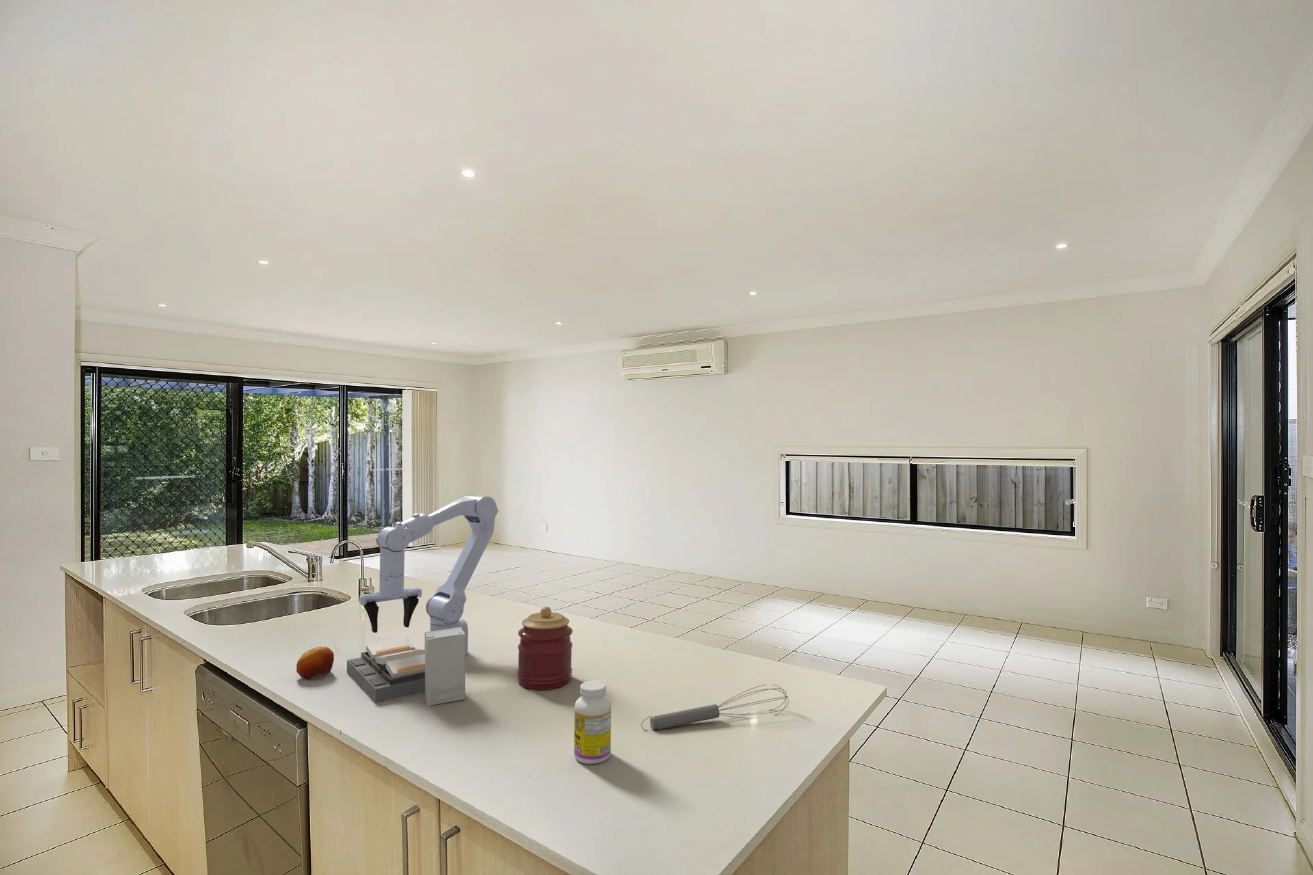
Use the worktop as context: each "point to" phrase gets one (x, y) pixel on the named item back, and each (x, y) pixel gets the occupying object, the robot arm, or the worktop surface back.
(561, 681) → the canister
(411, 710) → the worktop surface
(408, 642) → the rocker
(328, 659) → the fruit
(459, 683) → the skincare box
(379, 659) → the rocker middle
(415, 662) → the panel
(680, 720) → the kitchen whisk
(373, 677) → the rocker switch panel
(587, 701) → the supplement bottle
